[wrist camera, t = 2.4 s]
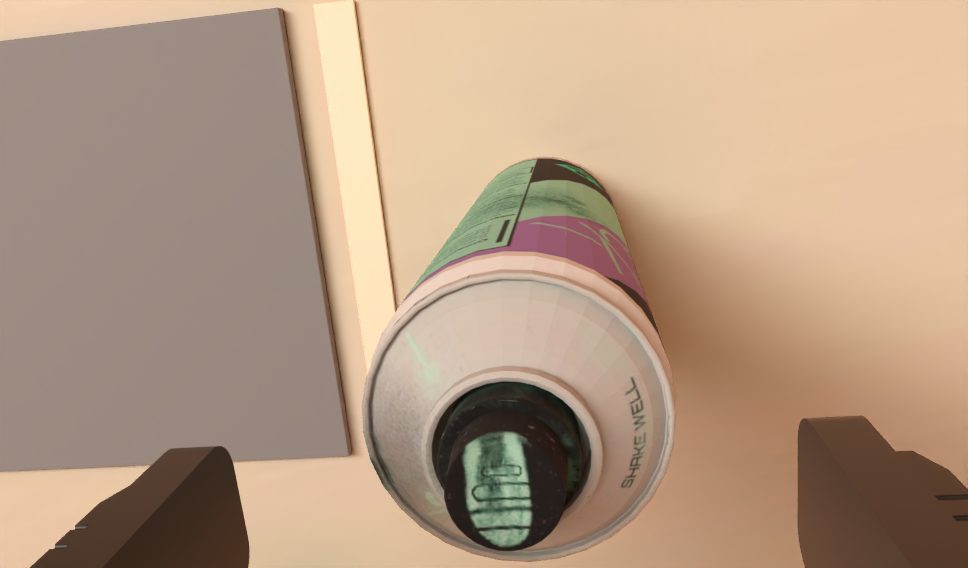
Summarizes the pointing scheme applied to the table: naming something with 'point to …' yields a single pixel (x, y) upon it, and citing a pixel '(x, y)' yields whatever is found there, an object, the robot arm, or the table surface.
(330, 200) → the table surface
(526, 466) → the spray can
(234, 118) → the gray flat panel
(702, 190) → the table surface
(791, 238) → the table surface
